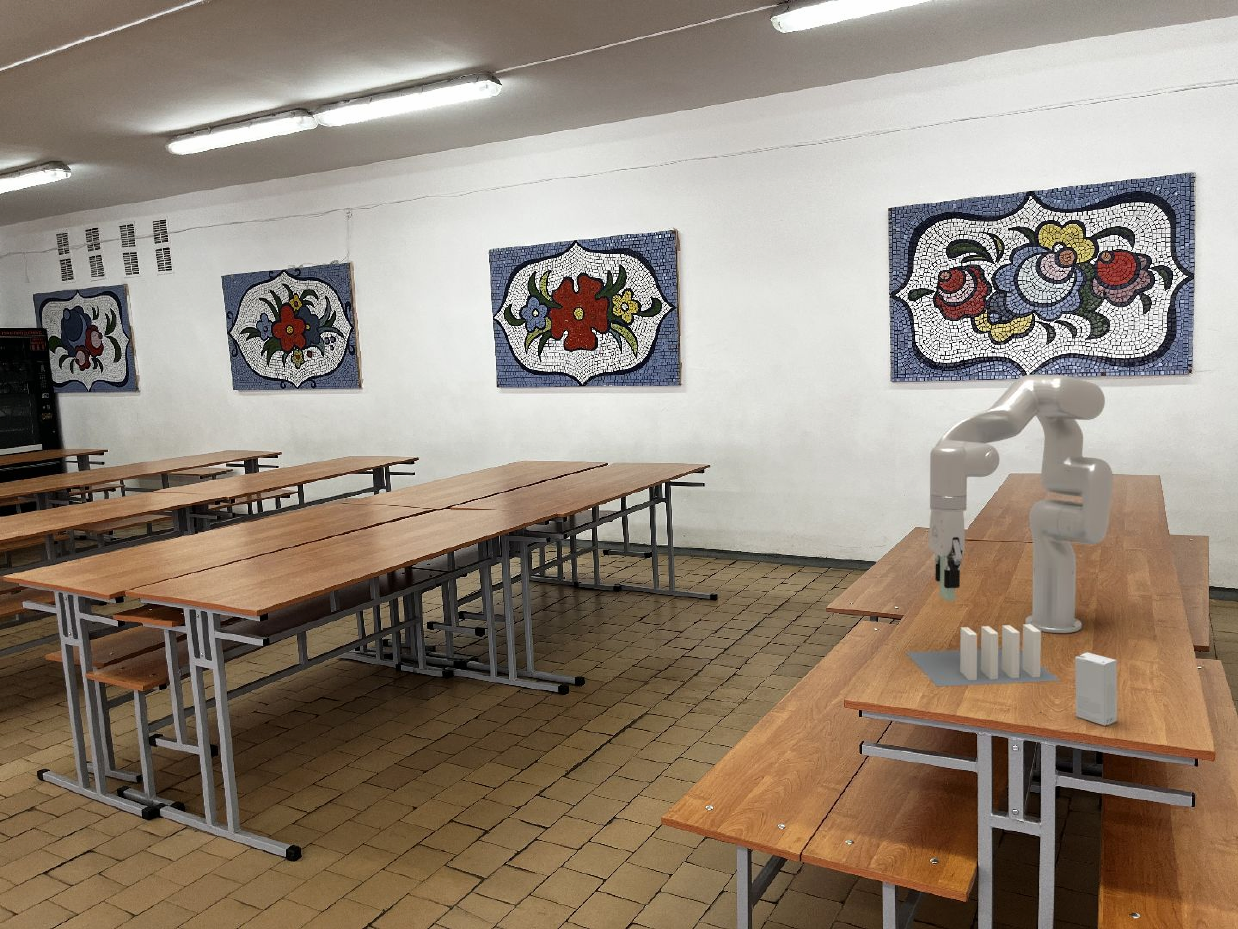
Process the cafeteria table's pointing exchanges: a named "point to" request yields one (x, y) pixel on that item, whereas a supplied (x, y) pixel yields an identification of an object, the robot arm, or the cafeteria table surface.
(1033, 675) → the domino
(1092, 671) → the skincare box
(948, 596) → the domino end
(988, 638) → the domino
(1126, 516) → the cafeteria table surface
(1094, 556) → the cafeteria table surface
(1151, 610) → the cafeteria table surface
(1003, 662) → the domino
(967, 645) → the domino
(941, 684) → the slate mat
